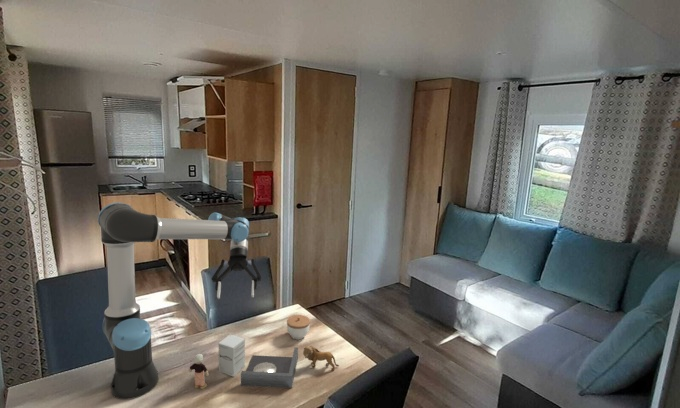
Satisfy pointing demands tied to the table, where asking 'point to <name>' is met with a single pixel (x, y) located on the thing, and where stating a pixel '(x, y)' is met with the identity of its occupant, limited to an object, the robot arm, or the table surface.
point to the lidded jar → (298, 326)
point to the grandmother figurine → (199, 371)
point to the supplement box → (231, 355)
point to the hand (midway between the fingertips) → (235, 297)
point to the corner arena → (270, 371)
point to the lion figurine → (318, 356)
